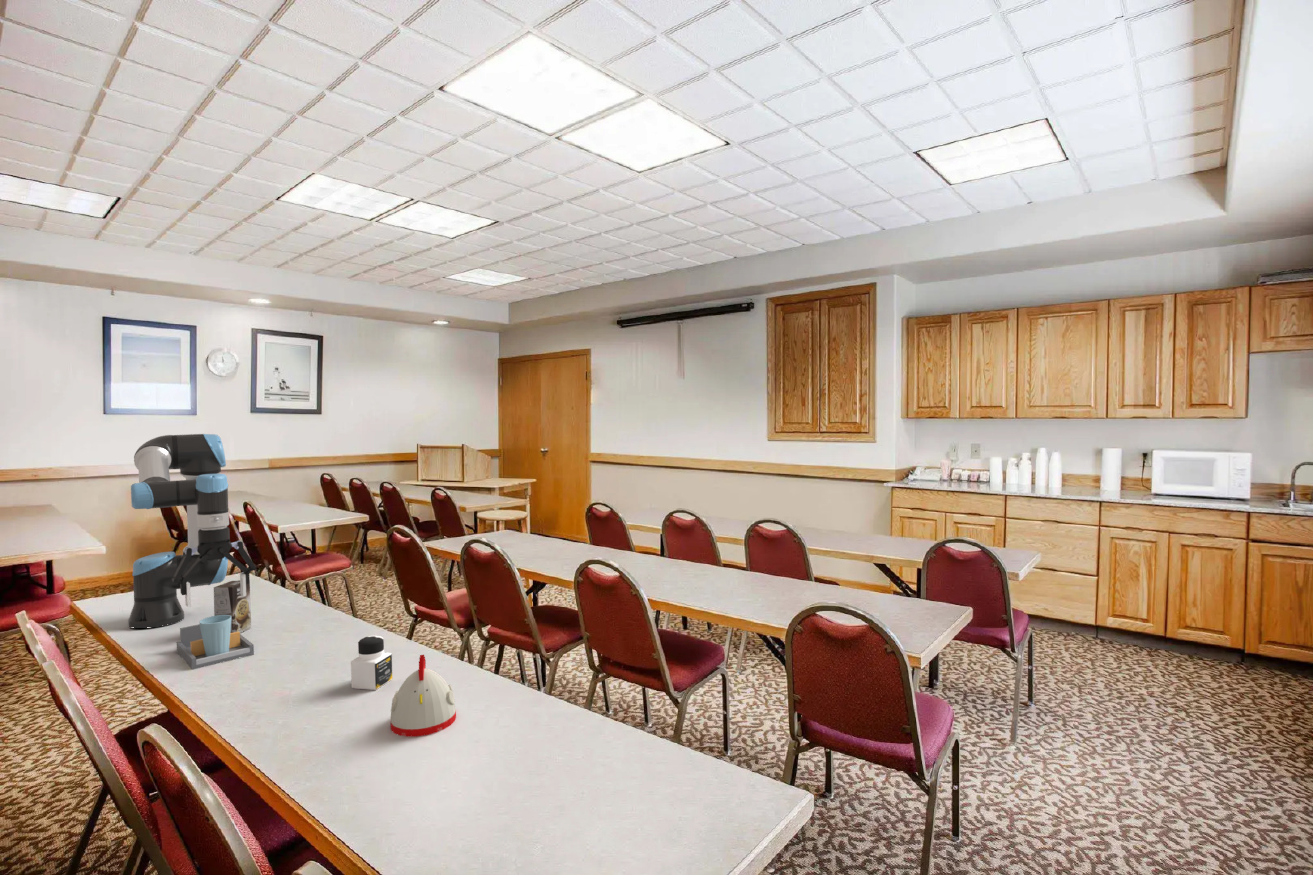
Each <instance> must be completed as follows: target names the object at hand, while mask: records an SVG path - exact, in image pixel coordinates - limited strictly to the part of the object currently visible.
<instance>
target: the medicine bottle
mask: <svg viewBox="0 0 1313 875" xmlns="http://www.w3.org/2000/svg"><path fill="white" fill-rule="evenodd" d="M357 644H358V646H357V647H358V649H357V650H358V651H357V653H358V656H357V657H356V658H354V659H352V660H351V661H350V673H351V674H350V677H351V678H350V679H351V688H352V689H357V690H358V689H359V690H367V691H377V690H378V689H380V688H381V687H383V686H384V685H386V684H387V683H389V682H390V681H392V680H393V660H392V659H393V654H392V652H385V640H384V638H383V637H382V636H381V635H369V636H365V637H363V638H361V639H359V641H358V642H357Z"/></svg>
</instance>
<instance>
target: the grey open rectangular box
mask: <svg viewBox="0 0 1313 875" xmlns="http://www.w3.org/2000/svg"><path fill="white" fill-rule="evenodd" d="M233 632H237V631H236V630H232V619H231V630H230V633H233ZM179 635H180V636H179V637H180V640H179V641H177V642H176V654H177V655H179V657H180V658H181V659H182V658H183V659H182V660H183V661H184V662H185V663H186V664H187V666H188V667H189V668H190V669H191V670H195V669H200V668H204V666H205V667H208V666H212V665H216V663H217V664H221V663H224V662H223V661H225V662H230V661H233V659H234V660H236V658H238V659H240V658H239V657H242V658H245V657H249V656H253V655H255V653H254V652H255V651H254V650H255V649H254V646H255V645H254V643H253V642H251V641H250V640H249V639H247V638H246V637H245V636H244V635H242V633H240V646H237V647H233V648H229V652H226V653H222V654H218V655H214V656H209V657H206V654H202V655H198V656H194V655H193V654H192V653H191V646H190V642H192V641H196V640H201V639H202V633H201V628H200V623H199V624H195V625H190V626H184V627H179ZM220 662H221V663H220Z"/></svg>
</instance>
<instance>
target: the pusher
mask: <svg viewBox="0 0 1313 875" xmlns="http://www.w3.org/2000/svg"><path fill="white" fill-rule="evenodd" d="M240 634H241V633H240V632H239V631H238V632H233V633H230V644H229V648H233V647H237V646H240ZM190 646H191V653H192V654H193V655H194V656H198V655H202V654H205V649H204V644H203V639H201V640H196V641H192V642H190Z"/></svg>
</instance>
